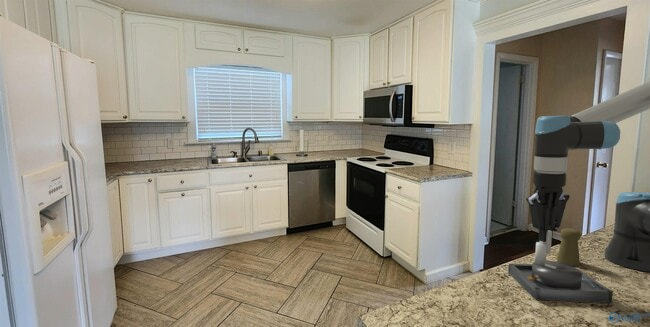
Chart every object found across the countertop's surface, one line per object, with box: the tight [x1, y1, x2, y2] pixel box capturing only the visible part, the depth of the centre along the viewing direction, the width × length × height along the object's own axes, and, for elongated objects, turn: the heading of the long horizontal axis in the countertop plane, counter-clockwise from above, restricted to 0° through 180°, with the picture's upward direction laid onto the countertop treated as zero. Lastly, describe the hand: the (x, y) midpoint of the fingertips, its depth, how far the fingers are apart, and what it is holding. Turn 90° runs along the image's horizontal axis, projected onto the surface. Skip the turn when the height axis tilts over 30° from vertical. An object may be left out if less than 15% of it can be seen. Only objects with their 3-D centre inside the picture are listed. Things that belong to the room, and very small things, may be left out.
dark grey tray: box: [507, 263, 614, 304], centre depth 87 cm, size 18×15×3 cm
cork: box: [556, 227, 582, 267], centre depth 102 cm, size 6×6×11 cm
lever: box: [532, 241, 582, 289], centre depth 86 cm, size 11×11×9 cm
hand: (544, 251), depth 90 cm, fingers closed
